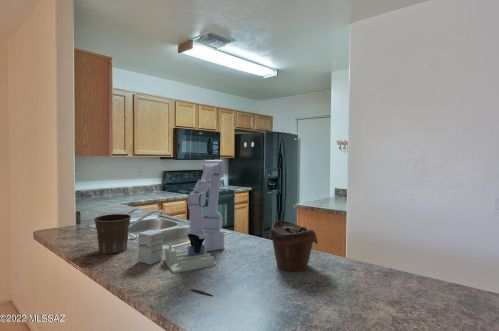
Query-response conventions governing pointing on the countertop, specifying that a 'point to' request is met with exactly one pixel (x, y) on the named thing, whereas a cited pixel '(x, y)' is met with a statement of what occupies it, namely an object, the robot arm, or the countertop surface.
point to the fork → (192, 289)
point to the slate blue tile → (192, 252)
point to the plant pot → (112, 232)
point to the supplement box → (150, 246)
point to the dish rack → (186, 260)
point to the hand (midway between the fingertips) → (195, 251)
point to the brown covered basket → (292, 245)
